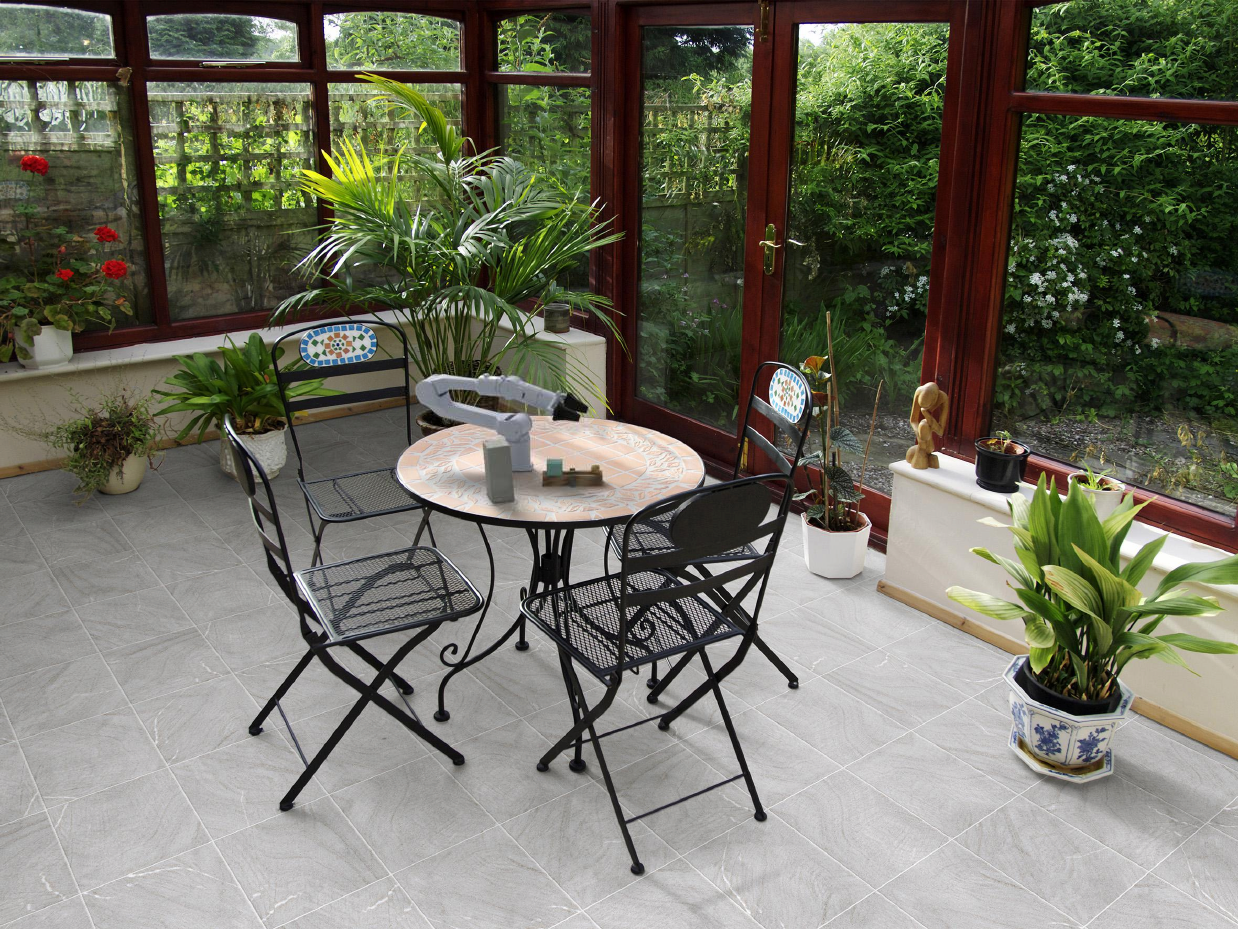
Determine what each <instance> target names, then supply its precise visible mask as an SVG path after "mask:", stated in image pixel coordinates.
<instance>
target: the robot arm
mask: <svg viewBox="0 0 1238 929" xmlns="http://www.w3.org/2000/svg"><path fill="white" fill-rule="evenodd" d="M450 390H458V391H459V390H462V391H464V390H465V391H466V390H467V391H476V393H478V395H479V396H489V397H490V396H491V397H492V396H493V397H503V398H504V399H505V400H506V401H512V400H516V401H519V402H521V403H524V404H526V405H529V406H532V407H535V408H538V409H539V410H542V411H545V415H546V416H549V417H552V419H551V420H552V421H553V422H557V421H559V422H560V421H568V422H574V423H575V422H576V423H579V422H580V420H581V415H582V414H587V413H588V410H589V405H587V404H585V403H583V401H581V400H580V399H579V398H577V397H576V396H575V395H574V393H573V392H571V391H568V392H567V393H564V392H562V393H561V390H559V389H558V390H557V391H556V392H554V391H550V390H548V389H545V388H542V387H539V386H537V385H534V384H532V383H528V382H525V381H523V380H522V378H521V377H519V376H516V375H514V374H511V375H509V376H508V377H506V375H503V374H502V375H500V376H495V375H490V373H483V374H481V375H480V376H478V377H477V378H473V377H463V376H459V375H449V374H444V373H442V374H437V373H436V374H432V375H430V376H429V377H427V378H425V379H424V380H421V381H419V382H417V384H416V385H415V387H414V392H415V396H416V397H417V399H418V401H419V404H422V405H425V406H427V407H428V408H429V409H430V410H432V411H433V412H434V413H435V414H436V415H438V416H439V417H441V418H445V419H447V420H453V421H457V422H460V423H465V424H469V425H473V426H477V427H481V428H484V429H485V428H486V429H488V430H493V431H495V433H496V434H497V435H499V436H501V437H503V439H505V440H506V441H507V442H508V444H509V445H510V452H511V464H512V472H532V471H533V461H531V436H530V432H531V430H532V428H533V420H532V418H531V417H530V415H529V414H527V413H524V412H518V413H513V412H503V413H502V412H501V413H500V412H497V411H493V410H489V409H485V408H480V407H477V406H472V405H469V404H464V403H461V402H456V401H453V400H452V399H451V396H450V392H449V391H450Z"/></svg>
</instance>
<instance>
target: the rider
mask: <svg viewBox="0 0 1238 929" xmlns="http://www.w3.org/2000/svg"><path fill="white" fill-rule="evenodd" d="M563 461H564V460H563V458H547V459H546V471H547V476H562V473H563V471H564V468H563V466H564V465H563Z"/></svg>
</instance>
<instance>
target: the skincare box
mask: <svg viewBox="0 0 1238 929" xmlns="http://www.w3.org/2000/svg"><path fill="white" fill-rule="evenodd" d="M482 452H483V454H482V455H483V463H484V473H485V474H484V475H485V476H484V477H485V485H486V495H487V496H488V498H489V500H490V501H491V503H493V504H494V503H503V502H514V501H515V489H514V488H515V487H514V477H513V476H514V475H513V471H512V464H511V452H510V445H509V444H508V442H507V441H506V440H505V439H504V438H497V439H489V440H483V441H482Z"/></svg>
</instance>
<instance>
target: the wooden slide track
mask: <svg viewBox="0 0 1238 929" xmlns="http://www.w3.org/2000/svg"><path fill="white" fill-rule="evenodd" d="M600 468H601V467H600V465H599V464H592V465H591V466H590V470H586V469H585V470H583V469H582V470H581V469H580V470H576V467H570V468H569V470H563V473H562V476H547V470H542V473H541V486H542V487H569V488H576V487H603V482H604V480H603V475H604V474H603V470H602V469H600Z"/></svg>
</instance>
